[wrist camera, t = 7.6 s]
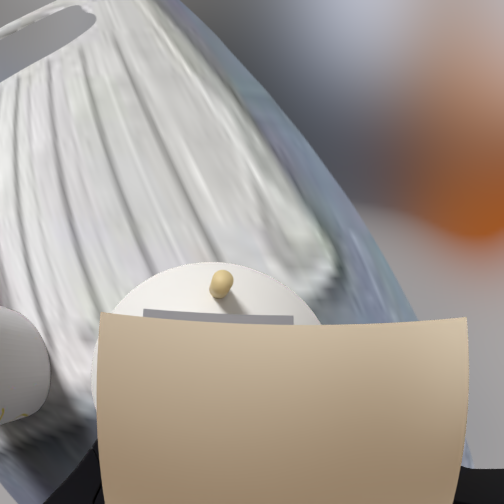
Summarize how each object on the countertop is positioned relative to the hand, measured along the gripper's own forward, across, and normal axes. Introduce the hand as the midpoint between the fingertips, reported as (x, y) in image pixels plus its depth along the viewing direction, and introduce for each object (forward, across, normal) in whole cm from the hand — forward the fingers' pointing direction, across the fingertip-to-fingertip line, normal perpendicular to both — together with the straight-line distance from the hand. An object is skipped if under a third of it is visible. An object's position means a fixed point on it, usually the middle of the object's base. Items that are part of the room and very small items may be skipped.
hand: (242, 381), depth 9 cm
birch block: (+4, 0, +6) cm, 7 cm away
